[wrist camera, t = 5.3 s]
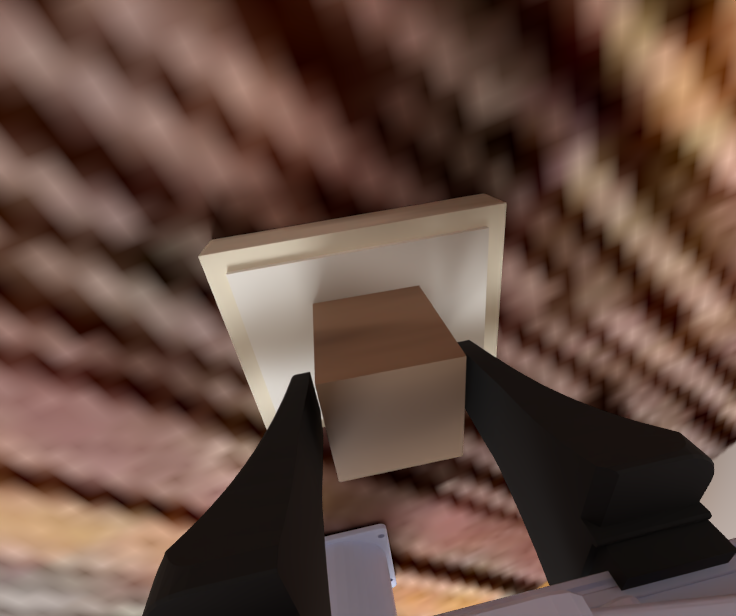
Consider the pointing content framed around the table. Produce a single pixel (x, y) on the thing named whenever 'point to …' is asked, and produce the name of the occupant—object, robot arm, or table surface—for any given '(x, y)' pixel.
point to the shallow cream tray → (354, 280)
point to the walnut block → (388, 382)
